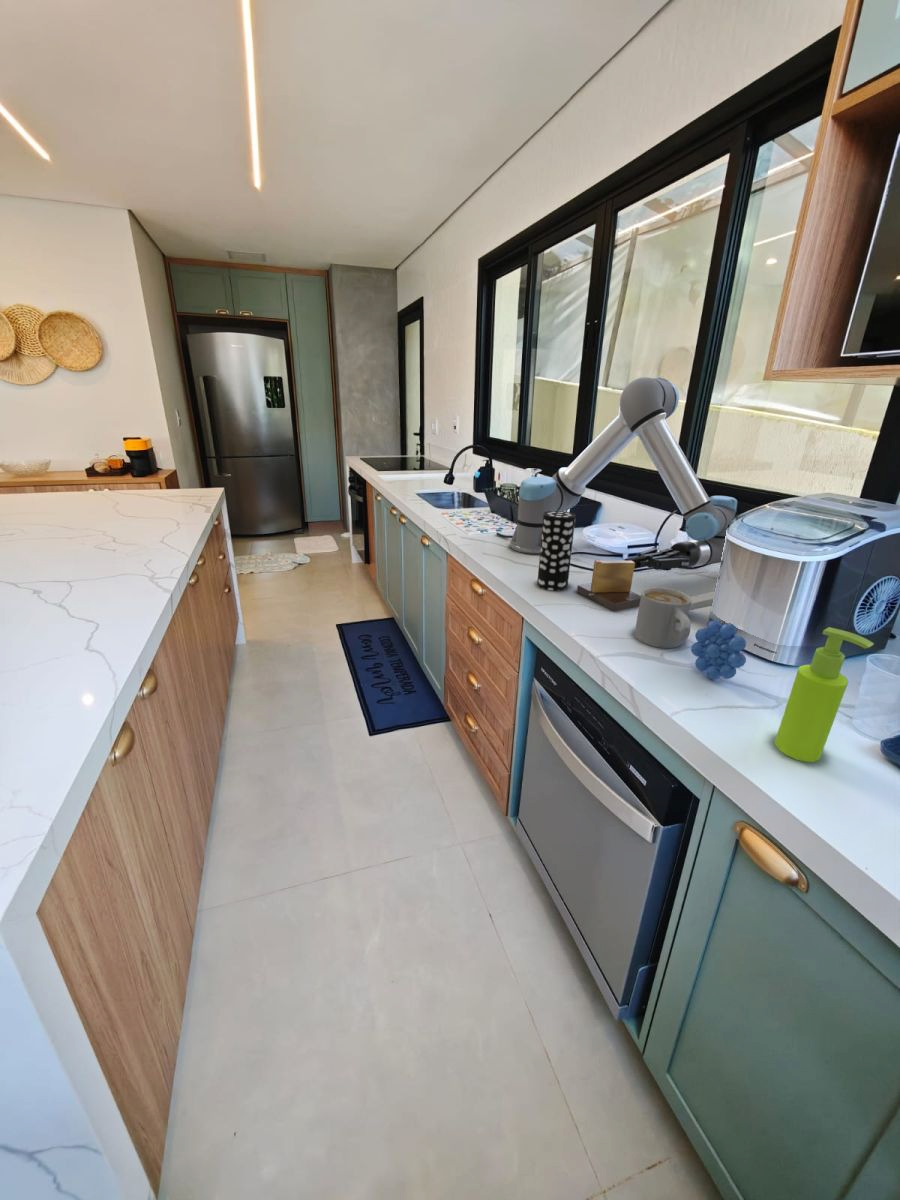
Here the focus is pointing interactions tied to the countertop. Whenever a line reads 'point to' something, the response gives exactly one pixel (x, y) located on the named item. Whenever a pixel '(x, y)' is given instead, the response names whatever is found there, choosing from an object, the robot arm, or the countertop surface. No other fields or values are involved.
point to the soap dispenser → (815, 699)
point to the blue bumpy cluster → (719, 650)
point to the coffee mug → (663, 617)
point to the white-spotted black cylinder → (555, 550)
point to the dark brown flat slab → (610, 598)
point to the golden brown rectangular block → (612, 576)
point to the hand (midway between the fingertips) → (626, 564)
